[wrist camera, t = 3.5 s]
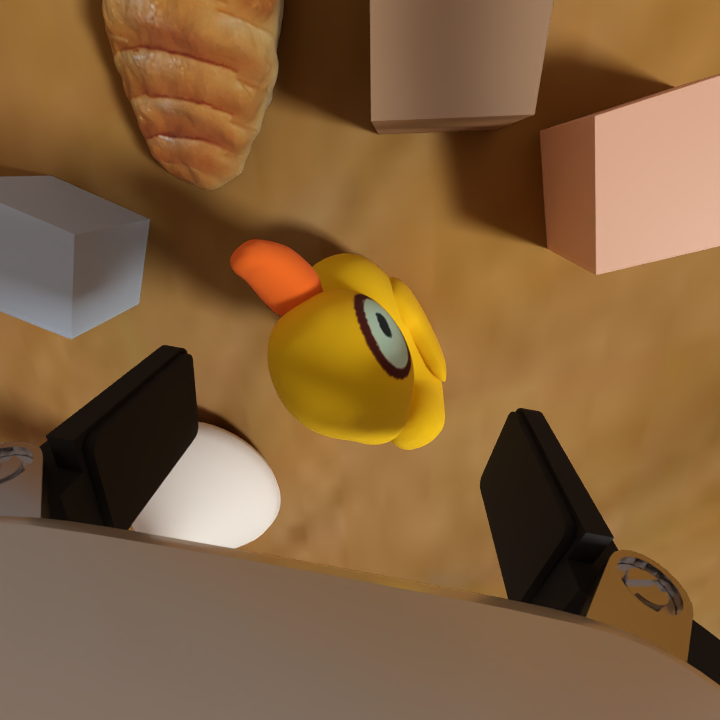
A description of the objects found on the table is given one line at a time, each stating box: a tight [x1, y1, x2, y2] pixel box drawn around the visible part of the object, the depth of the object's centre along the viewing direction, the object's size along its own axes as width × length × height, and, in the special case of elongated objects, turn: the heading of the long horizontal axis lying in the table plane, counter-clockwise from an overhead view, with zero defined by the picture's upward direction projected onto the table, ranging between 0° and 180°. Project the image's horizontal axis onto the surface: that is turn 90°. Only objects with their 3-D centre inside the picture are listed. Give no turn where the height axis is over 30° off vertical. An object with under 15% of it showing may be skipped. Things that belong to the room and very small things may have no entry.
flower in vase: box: [132, 422, 281, 549], centre depth 16 cm, size 13×11×25 cm
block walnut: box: [370, 0, 554, 134], centre depth 12 cm, size 5×5×5 cm
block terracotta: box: [540, 74, 720, 275], centre depth 14 cm, size 5×5×5 cm
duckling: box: [230, 239, 446, 450], centre depth 15 cm, size 11×5×10 cm, turn 34°
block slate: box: [0, 176, 150, 339], centre depth 17 cm, size 5×5×5 cm
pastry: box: [102, 0, 284, 190], centre depth 14 cm, size 9×7×4 cm
